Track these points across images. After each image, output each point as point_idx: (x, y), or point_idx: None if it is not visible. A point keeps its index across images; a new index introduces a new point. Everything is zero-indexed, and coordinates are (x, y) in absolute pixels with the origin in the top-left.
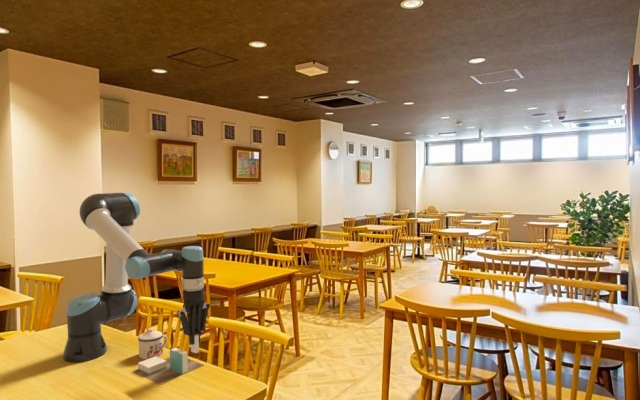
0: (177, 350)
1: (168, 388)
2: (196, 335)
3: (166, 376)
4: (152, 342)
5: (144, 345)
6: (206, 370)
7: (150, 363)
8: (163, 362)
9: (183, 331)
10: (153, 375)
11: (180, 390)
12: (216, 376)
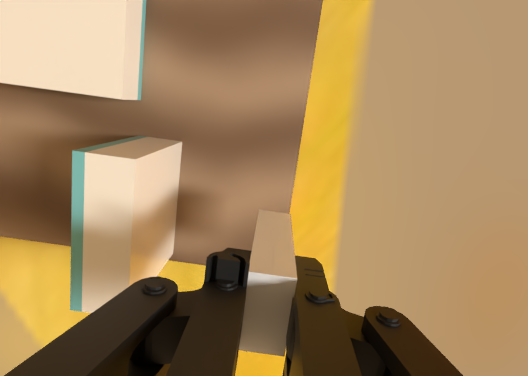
0: (104, 222)
1: (40, 259)
2: (256, 351)
3: (68, 194)
4: None
5: None
6: None
7: (29, 26)
8: (98, 95)
9: (111, 300)
10: (31, 116)
11: (62, 320)
12: (247, 366)
